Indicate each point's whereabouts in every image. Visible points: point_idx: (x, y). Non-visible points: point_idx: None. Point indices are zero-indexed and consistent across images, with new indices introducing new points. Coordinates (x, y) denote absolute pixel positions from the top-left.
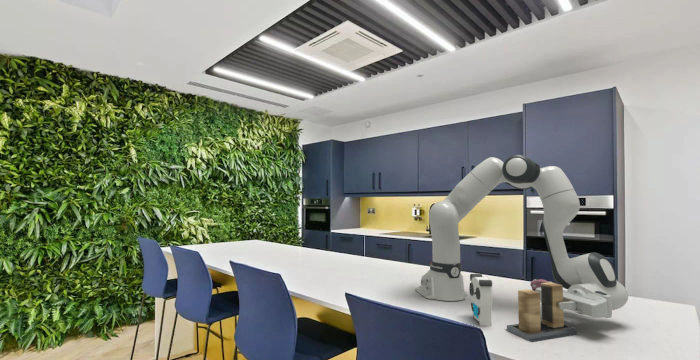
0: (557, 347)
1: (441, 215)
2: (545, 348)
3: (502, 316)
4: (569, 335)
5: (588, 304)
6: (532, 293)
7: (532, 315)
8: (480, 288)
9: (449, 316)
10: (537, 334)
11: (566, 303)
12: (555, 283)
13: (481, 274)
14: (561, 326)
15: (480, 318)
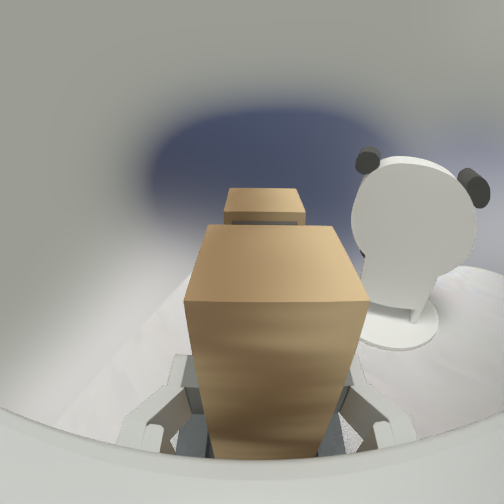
0: (157, 371)
1: None
2: (173, 339)
3: (475, 398)
4: None
5: (14, 413)
6: (228, 194)
7: None
8: (365, 174)
9: (443, 280)
10: None
11: (158, 395)
12: (289, 296)
13: (475, 176)
14: None
15: (362, 270)
